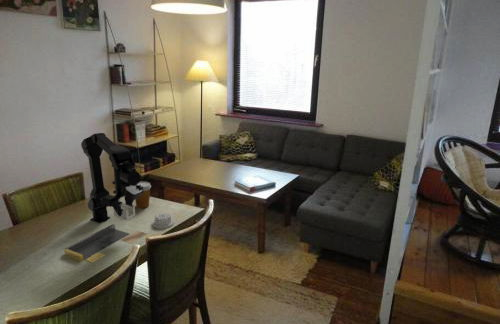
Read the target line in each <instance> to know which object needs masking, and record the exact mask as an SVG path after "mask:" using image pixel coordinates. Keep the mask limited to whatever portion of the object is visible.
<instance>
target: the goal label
mask: <svg viewBox="0 0 500 324" xmlns="http://www.w3.org/2000/svg"><path fill="white" fill-rule="evenodd" d="M105 256H106V254H103V253H101V252H97V253H95V254H93V255H92V256H90V257H89V258H87V259H85V261H87V262H89V263H91V264H94V263H96V262H97V261H99V260H100V259H102V258H103V257H105Z"/></svg>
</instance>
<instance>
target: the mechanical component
mask: <svg viewBox="0 0 500 324" xmlns="http://www.w3.org/2000/svg"><path fill="white" fill-rule="evenodd" d="M174 224H175V220H174V219H173V218H172V214H170V213H168V212H160V213H158V214H155V215H154V220H152V224H151V225H152V227H153V228H156V229H168V228H171V227H173V226H174Z"/></svg>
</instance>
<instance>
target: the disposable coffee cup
mask: <svg viewBox="0 0 500 324" xmlns="http://www.w3.org/2000/svg"><path fill="white" fill-rule="evenodd" d="M140 184H141V185H142V186H143V193H142V194H141V195H140V198H137V199H135V200H134V201H135V205H136V208H138V209H146V208H148V207H149V206H150V197H151V188H152V185H151V182H148V181H140V182H139V183H138V184H137V185H140Z"/></svg>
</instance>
